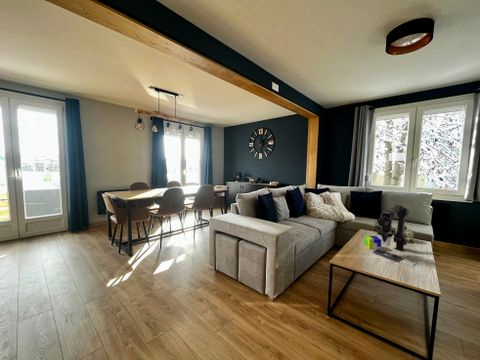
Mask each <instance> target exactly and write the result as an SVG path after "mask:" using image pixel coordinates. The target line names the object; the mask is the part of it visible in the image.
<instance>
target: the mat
mask: <svg viewBox="0 0 480 360" xmlns="http://www.w3.org/2000/svg"><path fill="white" fill-rule="evenodd" d="M399 262H400V263H404V264H405V265H407V266H411V267H412V266H415V265H417V262H414V261H412V260H408V259H405V258H404V259H403V258H402V260H399Z"/></svg>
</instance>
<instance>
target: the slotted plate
mask: <svg viewBox="0 0 480 360" xmlns="http://www.w3.org/2000/svg"><path fill="white" fill-rule="evenodd" d="M372 252H373V254H375V255H378V256H380V257H382V258H385V259H387V260H390V261H392V262H395V263H397V262H400V261H401V260H403V257H402V256H401V255H398V254H394V253H392V252H389V251H386V250H383V249H382V248H381V249H377V250H373V251H372Z"/></svg>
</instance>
